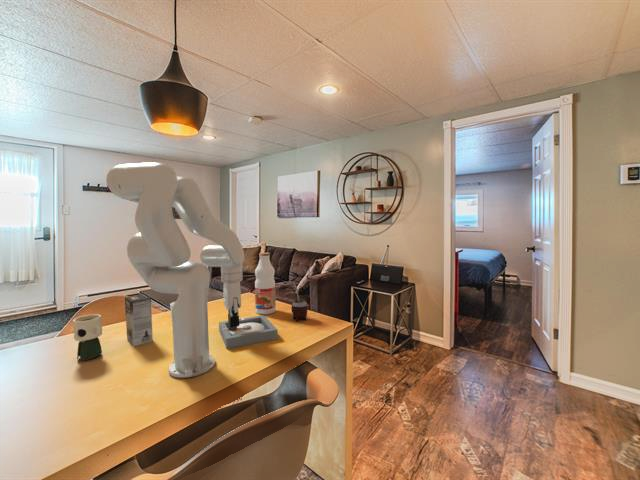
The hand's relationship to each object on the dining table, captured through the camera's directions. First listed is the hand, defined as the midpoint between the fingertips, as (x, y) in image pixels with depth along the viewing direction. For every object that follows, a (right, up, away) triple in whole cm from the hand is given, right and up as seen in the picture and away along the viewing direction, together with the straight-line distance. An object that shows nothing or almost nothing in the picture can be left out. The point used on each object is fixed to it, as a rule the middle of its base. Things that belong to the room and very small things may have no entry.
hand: (233, 324), depth 109 cm
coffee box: (-33, -5, -3) cm, 34 cm away
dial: (+5, -3, +2) cm, 6 cm away
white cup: (-24, -4, +11) cm, 27 cm away
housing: (+5, -4, +2) cm, 7 cm away
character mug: (-41, -6, -16) cm, 45 cm away
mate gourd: (+23, -3, +19) cm, 30 cm away
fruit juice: (+6, -3, +29) cm, 30 cm away
